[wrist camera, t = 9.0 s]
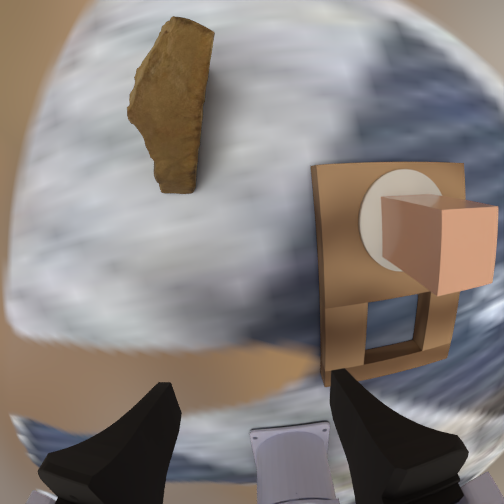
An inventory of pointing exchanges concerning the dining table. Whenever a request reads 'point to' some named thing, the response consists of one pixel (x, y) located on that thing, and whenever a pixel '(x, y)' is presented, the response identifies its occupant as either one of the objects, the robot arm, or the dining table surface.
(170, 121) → the rock
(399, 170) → the cream disc
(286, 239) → the dining table surface
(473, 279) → the terracotta block
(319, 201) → the walnut board
